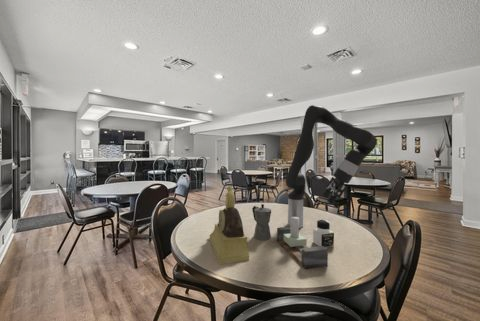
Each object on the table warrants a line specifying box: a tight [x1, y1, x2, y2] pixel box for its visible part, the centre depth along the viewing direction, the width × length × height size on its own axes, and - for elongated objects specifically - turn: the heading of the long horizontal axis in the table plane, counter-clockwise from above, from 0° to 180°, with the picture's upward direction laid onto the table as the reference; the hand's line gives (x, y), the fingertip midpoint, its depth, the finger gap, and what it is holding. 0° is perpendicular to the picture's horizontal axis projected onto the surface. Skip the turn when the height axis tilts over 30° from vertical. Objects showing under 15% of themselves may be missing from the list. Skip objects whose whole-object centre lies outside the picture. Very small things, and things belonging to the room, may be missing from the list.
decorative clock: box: [209, 185, 250, 265], centre depth 103 cm, size 28×13×30 cm, turn 16°
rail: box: [276, 226, 329, 270], centre depth 99 cm, size 28×10×7 cm, turn 13°
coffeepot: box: [251, 203, 272, 241], centre depth 118 cm, size 15×9×18 cm, turn 33°
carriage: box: [283, 217, 307, 247], centre depth 103 cm, size 8×8×12 cm
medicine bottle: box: [312, 219, 335, 248], centre depth 107 cm, size 7×7×12 cm
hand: (327, 199), depth 104 cm, fingers open, 8 cm apart
